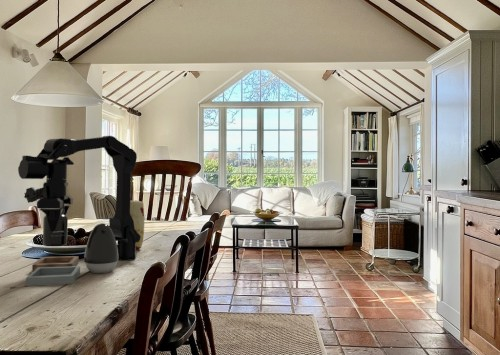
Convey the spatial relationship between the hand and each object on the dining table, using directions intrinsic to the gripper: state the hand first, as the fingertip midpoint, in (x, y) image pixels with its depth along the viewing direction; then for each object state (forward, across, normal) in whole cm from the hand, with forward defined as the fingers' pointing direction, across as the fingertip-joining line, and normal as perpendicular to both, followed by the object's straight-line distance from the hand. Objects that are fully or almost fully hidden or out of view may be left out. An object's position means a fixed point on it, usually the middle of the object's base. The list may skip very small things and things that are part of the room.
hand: (55, 229), depth 127 cm
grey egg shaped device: (+13, +1, +14) cm, 19 cm away
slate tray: (+13, +9, +2) cm, 16 cm away
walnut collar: (+13, -6, -1) cm, 14 cm away
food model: (+13, -35, +21) cm, 43 cm away
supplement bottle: (+5, 0, 0) cm, 5 cm away
